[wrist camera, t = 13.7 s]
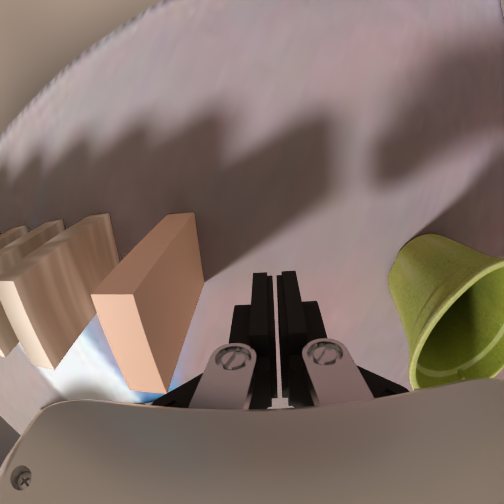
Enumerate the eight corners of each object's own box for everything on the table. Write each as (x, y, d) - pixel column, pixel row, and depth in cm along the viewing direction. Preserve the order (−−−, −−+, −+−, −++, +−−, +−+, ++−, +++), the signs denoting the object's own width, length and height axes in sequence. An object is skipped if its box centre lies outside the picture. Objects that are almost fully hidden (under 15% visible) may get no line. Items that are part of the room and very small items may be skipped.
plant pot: (345, 250, 19) (391, 329, 11) (454, 186, 17) (539, 227, 9) (386, 340, 22) (422, 421, 14) (476, 285, 20) (534, 346, 12)
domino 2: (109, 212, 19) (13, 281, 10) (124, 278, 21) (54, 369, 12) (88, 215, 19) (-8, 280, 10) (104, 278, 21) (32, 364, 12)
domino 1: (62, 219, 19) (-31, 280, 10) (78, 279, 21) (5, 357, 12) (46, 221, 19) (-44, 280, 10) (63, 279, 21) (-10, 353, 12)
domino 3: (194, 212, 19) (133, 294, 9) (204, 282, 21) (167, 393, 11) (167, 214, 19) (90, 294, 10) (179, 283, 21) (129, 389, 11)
